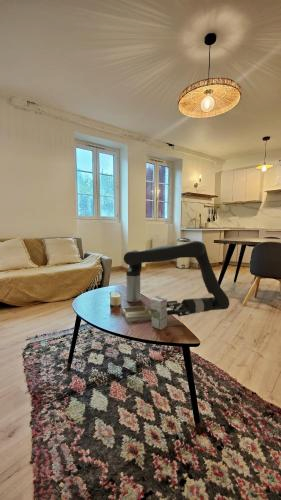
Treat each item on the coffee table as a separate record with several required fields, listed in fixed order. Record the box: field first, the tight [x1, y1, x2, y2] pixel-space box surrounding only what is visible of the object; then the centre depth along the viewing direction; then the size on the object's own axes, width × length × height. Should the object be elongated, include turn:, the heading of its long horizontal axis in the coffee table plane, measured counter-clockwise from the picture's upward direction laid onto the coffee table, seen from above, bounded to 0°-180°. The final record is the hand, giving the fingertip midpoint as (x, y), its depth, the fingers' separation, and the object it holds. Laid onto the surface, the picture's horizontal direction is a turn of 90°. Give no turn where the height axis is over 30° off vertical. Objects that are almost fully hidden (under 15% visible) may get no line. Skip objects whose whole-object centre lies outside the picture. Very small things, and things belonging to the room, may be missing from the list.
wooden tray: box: [121, 304, 151, 324], centre depth 121 cm, size 14×14×3 cm
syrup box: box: [150, 296, 168, 330], centre depth 108 cm, size 6×6×14 cm
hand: (163, 309), depth 109 cm, fingers open, 8 cm apart
